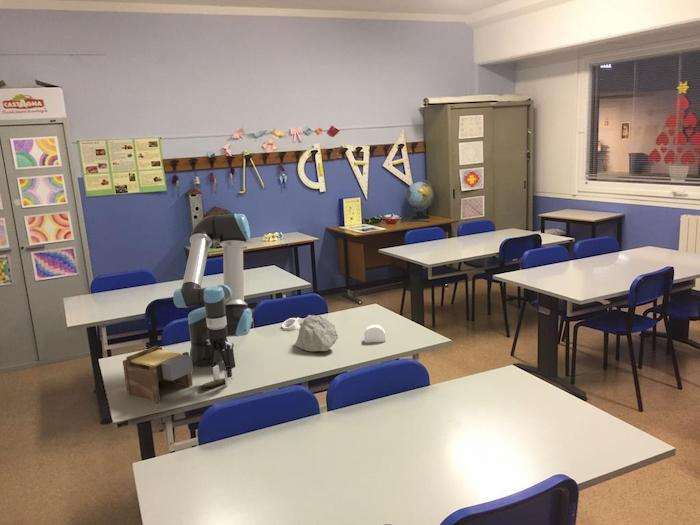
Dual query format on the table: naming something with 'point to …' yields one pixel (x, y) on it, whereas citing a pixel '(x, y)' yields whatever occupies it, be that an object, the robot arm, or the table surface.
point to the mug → (292, 324)
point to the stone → (214, 383)
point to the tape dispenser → (374, 334)
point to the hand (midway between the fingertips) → (222, 383)
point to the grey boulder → (316, 334)
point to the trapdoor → (167, 363)
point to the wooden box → (148, 377)
